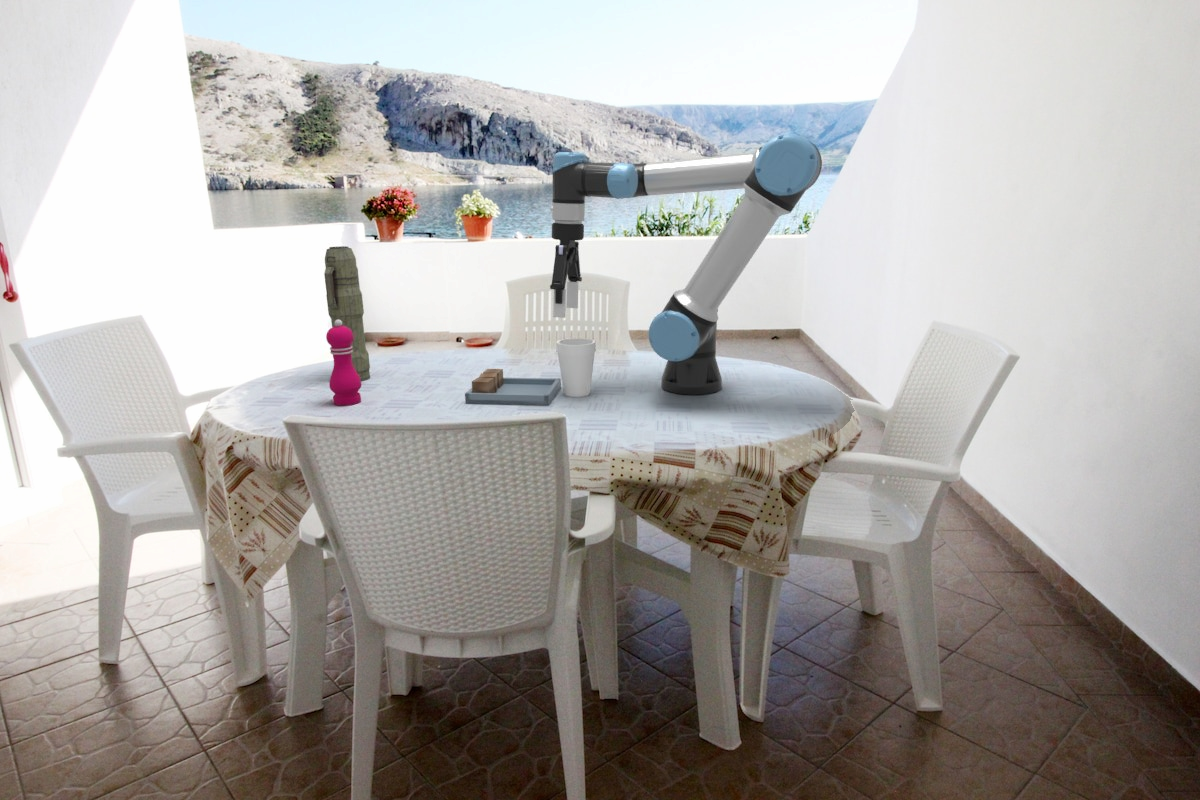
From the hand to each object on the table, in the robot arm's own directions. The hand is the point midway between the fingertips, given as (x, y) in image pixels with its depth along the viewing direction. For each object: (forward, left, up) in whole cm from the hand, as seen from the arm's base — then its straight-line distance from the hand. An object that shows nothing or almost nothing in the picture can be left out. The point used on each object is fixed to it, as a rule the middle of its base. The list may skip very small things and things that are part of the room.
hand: (566, 312), depth 173 cm
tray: (+12, +5, -20) cm, 24 cm away
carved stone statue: (+60, -8, -20) cm, 64 cm away
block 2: (+19, +5, -19) cm, 27 cm away
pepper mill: (+51, +14, -20) cm, 57 cm away
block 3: (+19, 0, -19) cm, 27 cm away
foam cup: (-3, +2, -20) cm, 20 cm away
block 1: (+19, +9, -19) cm, 28 cm away
